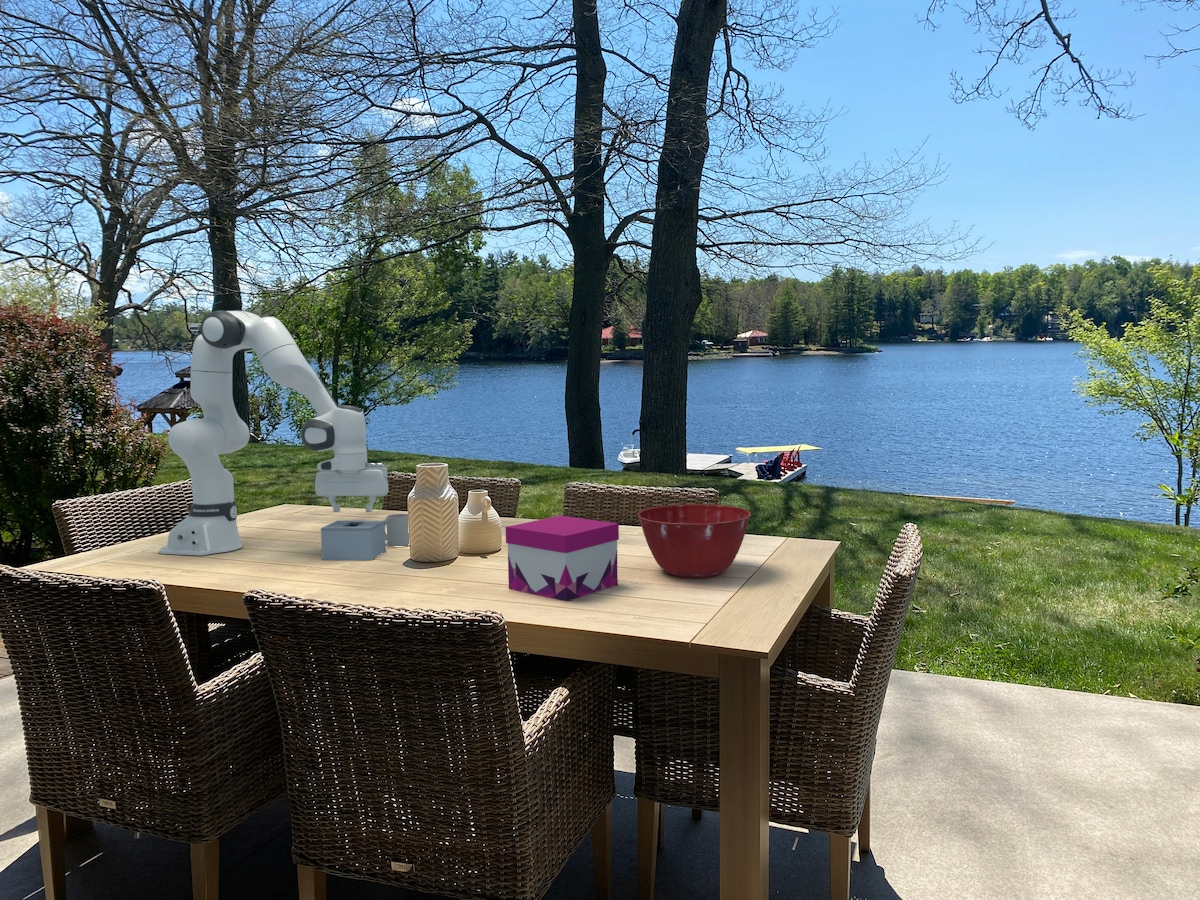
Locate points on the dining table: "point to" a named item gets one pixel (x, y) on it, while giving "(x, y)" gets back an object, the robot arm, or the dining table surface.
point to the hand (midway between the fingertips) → (352, 511)
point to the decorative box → (562, 557)
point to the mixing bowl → (694, 537)
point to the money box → (353, 540)
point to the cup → (397, 530)
